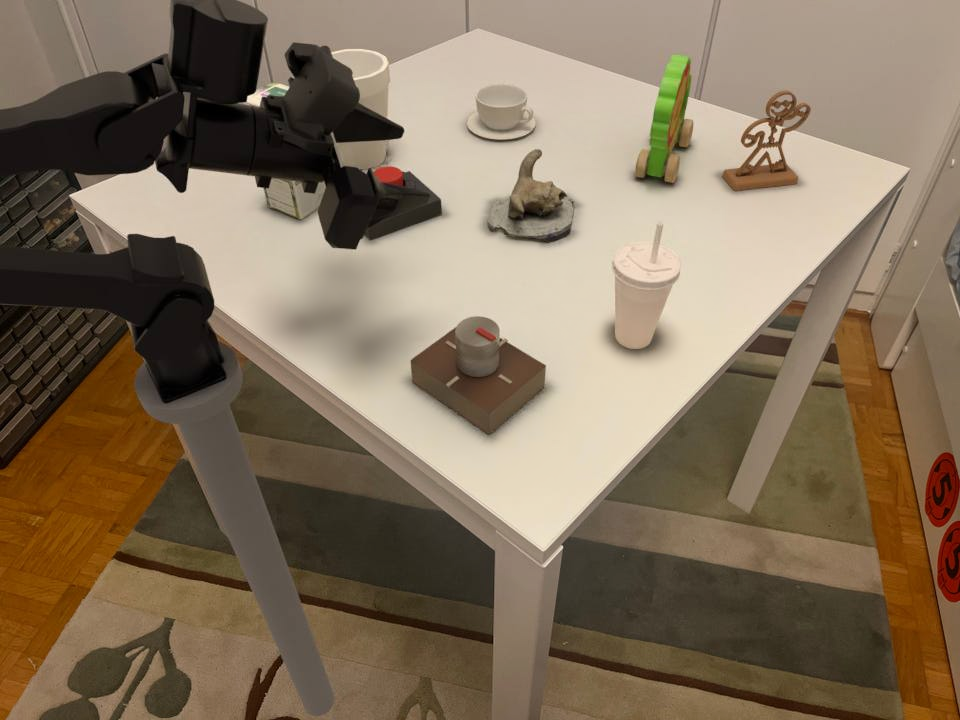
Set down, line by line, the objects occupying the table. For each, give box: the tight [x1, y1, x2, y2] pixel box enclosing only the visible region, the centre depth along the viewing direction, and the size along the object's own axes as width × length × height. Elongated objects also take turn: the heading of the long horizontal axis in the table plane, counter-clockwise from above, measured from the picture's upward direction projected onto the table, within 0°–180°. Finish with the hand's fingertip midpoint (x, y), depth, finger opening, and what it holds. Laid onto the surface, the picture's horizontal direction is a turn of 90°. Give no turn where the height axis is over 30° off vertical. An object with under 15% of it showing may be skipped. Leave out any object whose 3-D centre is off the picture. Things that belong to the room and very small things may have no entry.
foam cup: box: [331, 48, 391, 170], centre depth 98 cm, size 10×9×13 cm
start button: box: [373, 165, 403, 186], centre depth 90 cm, size 4×4×2 cm
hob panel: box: [409, 326, 547, 435], centre depth 71 cm, size 10×8×3 cm
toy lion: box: [634, 54, 694, 184], centre depth 96 cm, size 16×5×15 cm, turn 158°
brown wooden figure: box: [722, 90, 812, 192], centre depth 94 cm, size 9×4×12 cm, turn 101°
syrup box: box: [241, 81, 326, 220], centre depth 90 cm, size 6×6×14 cm
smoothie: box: [611, 221, 682, 350], centre depth 72 cm, size 6×6×14 cm
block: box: [364, 170, 443, 241], centre depth 92 cm, size 10×8×4 cm
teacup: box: [466, 83, 536, 140], centre depth 107 cm, size 10×10×5 cm
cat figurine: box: [487, 148, 575, 244], centre depth 91 cm, size 10×12×6 cm
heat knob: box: [455, 315, 501, 377], centre depth 68 cm, size 4×4×4 cm
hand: (415, 164), depth 71 cm, fingers open, 9 cm apart
